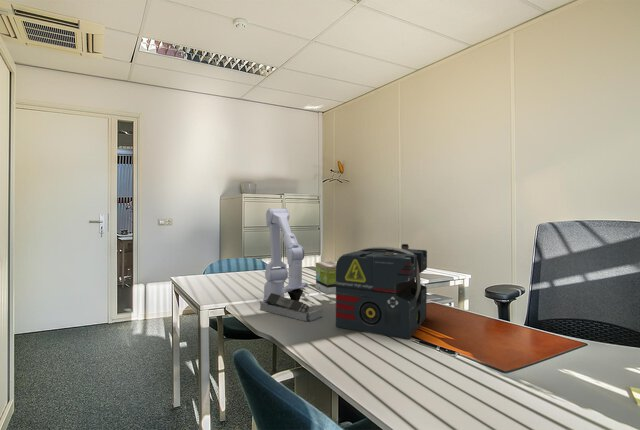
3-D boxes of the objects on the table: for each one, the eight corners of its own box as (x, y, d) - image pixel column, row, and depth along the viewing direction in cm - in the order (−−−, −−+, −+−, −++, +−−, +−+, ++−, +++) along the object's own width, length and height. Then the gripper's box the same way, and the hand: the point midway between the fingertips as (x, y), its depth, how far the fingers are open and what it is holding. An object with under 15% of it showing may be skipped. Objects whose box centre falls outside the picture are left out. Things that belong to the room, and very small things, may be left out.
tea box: (315, 288, 198) (315, 262, 198) (331, 287, 203) (331, 260, 202) (327, 294, 185) (327, 266, 185) (344, 293, 189) (344, 264, 189)
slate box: (258, 309, 158) (258, 302, 158) (273, 305, 165) (273, 298, 165) (308, 322, 141) (308, 314, 140) (322, 316, 148) (322, 309, 148)
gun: (275, 300, 163) (269, 288, 156) (313, 316, 154) (308, 304, 147) (270, 309, 161) (263, 297, 154) (308, 325, 152) (303, 313, 145)
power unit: (335, 327, 135) (335, 247, 134) (362, 309, 159) (362, 241, 159) (409, 340, 122) (410, 251, 121) (427, 318, 146) (427, 244, 146)
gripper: (290, 278, 147) (290, 312, 147) (313, 273, 159) (312, 304, 159) (278, 276, 151) (278, 309, 152) (300, 272, 163) (300, 301, 163)
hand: (295, 306), depth 156 cm, fingers closed
